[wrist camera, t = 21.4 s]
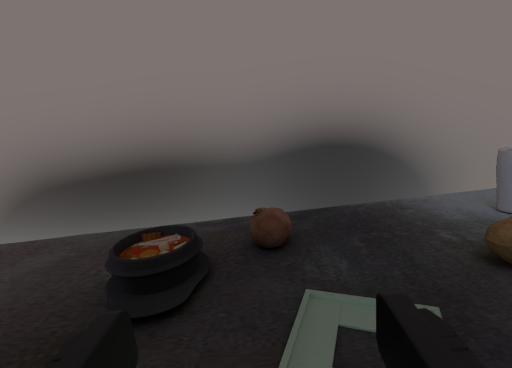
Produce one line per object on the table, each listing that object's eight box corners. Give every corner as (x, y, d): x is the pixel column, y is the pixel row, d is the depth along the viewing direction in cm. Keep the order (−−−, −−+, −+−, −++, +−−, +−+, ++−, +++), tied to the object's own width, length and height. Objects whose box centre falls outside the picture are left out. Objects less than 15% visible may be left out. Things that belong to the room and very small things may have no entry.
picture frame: (270, 402, 29) (269, 392, 29) (306, 295, 45) (305, 288, 45) (487, 467, 22) (488, 456, 22) (438, 314, 38) (438, 307, 38)
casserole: (129, 258, 64) (121, 223, 62) (211, 245, 67) (206, 211, 65) (80, 340, 40) (65, 288, 38) (211, 315, 43) (203, 265, 41)
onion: (256, 259, 64) (232, 223, 63) (280, 234, 70) (258, 201, 69) (284, 258, 57) (257, 216, 55) (308, 230, 62) (284, 192, 61)
